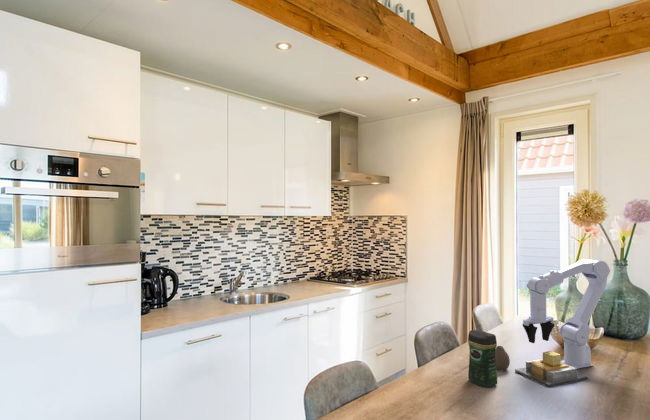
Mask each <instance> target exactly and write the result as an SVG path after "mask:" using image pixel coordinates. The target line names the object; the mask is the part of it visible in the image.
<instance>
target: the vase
mask: <svg viewBox="0 0 650 420" xmlns="http://www.w3.org/2000/svg"><path fill="white" fill-rule="evenodd" d="M495 361H496V371H500V372H501V371H502V372H504V371H506V370H508V369H509V367H510V364H511V363H510V362H511V360H510V356H509V353H508V352H507V351H506V350H505V347H504V346H503V345H497V346H496V349H495Z"/></svg>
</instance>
